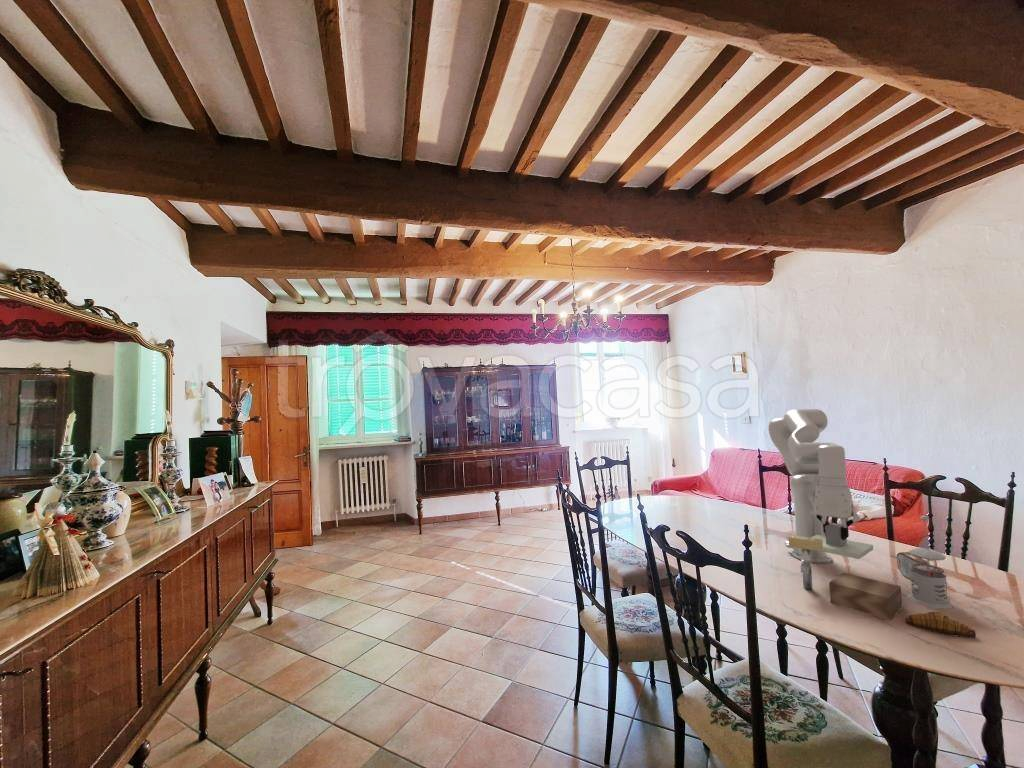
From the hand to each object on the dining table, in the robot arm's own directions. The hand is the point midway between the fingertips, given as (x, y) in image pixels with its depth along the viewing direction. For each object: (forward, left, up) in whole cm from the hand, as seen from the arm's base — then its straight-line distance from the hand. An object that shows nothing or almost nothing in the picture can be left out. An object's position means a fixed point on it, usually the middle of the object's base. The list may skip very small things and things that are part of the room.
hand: (836, 536), depth 148 cm
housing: (+11, -14, -15) cm, 23 cm away
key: (-3, -17, -14) cm, 23 cm away
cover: (0, 0, -4) cm, 4 cm away
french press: (+22, +4, -15) cm, 27 cm away
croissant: (+27, -17, -15) cm, 35 cm away
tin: (+16, +18, -15) cm, 28 cm away
